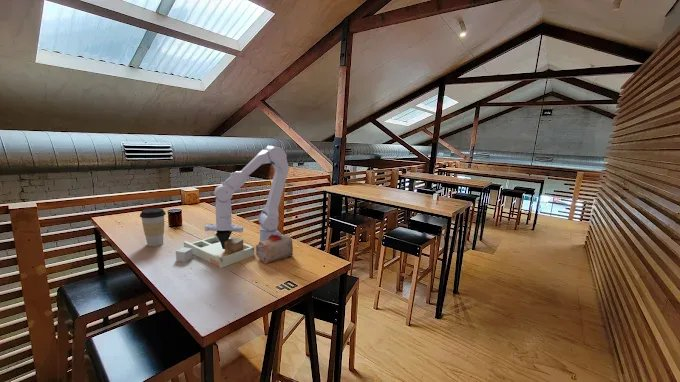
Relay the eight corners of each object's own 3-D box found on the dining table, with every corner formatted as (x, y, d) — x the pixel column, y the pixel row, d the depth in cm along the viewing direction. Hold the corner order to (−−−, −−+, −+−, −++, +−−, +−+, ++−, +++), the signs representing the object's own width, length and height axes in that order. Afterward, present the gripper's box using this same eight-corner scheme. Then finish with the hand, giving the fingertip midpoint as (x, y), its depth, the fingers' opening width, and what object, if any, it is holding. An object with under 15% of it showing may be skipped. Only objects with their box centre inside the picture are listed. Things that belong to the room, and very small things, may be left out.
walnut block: (243, 251, 120) (243, 239, 119) (235, 255, 115) (235, 243, 114) (232, 248, 121) (232, 237, 120) (224, 253, 116) (224, 241, 115)
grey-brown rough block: (264, 266, 112) (264, 241, 110) (254, 259, 117) (254, 235, 115) (294, 257, 121) (294, 234, 119) (283, 250, 127) (283, 229, 125)
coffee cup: (147, 249, 121) (144, 214, 118) (138, 243, 127) (135, 210, 124) (172, 243, 129) (169, 210, 126) (162, 238, 134) (159, 206, 131)
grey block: (192, 258, 116) (192, 248, 115) (185, 262, 112) (184, 252, 111) (184, 256, 117) (183, 247, 116) (176, 260, 113) (175, 250, 112)
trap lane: (254, 255, 121) (254, 247, 120) (221, 267, 109) (220, 259, 108) (216, 239, 135) (216, 232, 135) (184, 249, 123) (183, 241, 122)
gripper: (245, 213, 120) (245, 245, 123) (209, 212, 120) (211, 243, 123) (239, 218, 113) (240, 252, 116) (201, 216, 113) (203, 250, 116)
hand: (224, 248), depth 119 cm, fingers closed
